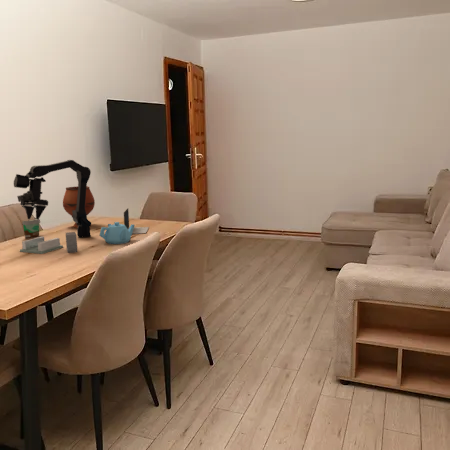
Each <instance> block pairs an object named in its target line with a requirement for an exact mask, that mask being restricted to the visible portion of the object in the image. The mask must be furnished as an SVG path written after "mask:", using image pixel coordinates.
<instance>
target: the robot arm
mask: <svg viewBox="0 0 450 450" xmlns="http://www.w3.org/2000/svg"><path fill="white" fill-rule="evenodd" d="M68 168H69V169H71V170H72V171H73V172H75V175H76V180H77V181H78V182H77V187H78V194H77V207H76V209H75V211H74V210H72V213H73V215H72V216H71V218H72V220H73V222H74V223H76V224H77V225H79V226H78V228H76V236H77V237H78V238H80V239H81V238H90V237H92V235H91V226H92V222H91V221H90V220H89V219H88V215H87V214H86V210H85V201H86V188H87V186H88V185H87V184H88V182H89V180H90V177H91V172H92V171H91V169H90V168H89V167H87V166H83V165H82V164H80V163H78V162H77V161H75V160H73V159H67V160H64V161H60V162H56V163H51V164H42V165H33V166H31V167H30V169H29V171H28V172H27V173H26V175H23V174H19V173H18V174H17V173H16V174H15V177H14V180H13V187H14V188H18V189H19V188H20V189H27V188H29V190H27V191H26V192H24V193H23V194H20V195H17V196H16V197H17V201H18V202H19V203H20V205H21V207H22V208H23V209H25V213H26V217H27V220H31V218H32V216H33V212H34V210H35V218H36V219H40V218H41V216H42V214H43V212H44V210H45V209H46V208H47V206H49V201H48V199H41V196H42V195H43V191H42V183H45V182H46V180H45V179H44V176H46V175H48V174H50V173H51V172H57V171H60V170H65V169H68Z"/></svg>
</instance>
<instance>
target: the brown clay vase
mask: <svg viewBox="0 0 450 450" xmlns="http://www.w3.org/2000/svg"><path fill="white" fill-rule="evenodd" d="M77 194H78V186H68V187H65V193H64V195H63V198H62V199H63V200H62V207H63V209H64V210H65V212H66V213H67V214H68V215H69V216H71V217H72V215H73V213H72V210H74V211H75V209H76V207H77ZM95 204H96V203H95V198H94V195H93V193H92V190H91V189H90V186H88V185H87V188H86V201H85V210H86V214H87V216H88V215H89V214H90V213H92V211H93V210H94V208H95ZM78 226H79V225H77V224H76V222H74V224H73V228H76V229H77V228H78Z"/></svg>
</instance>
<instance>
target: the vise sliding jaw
mask: <svg viewBox="0 0 450 450" xmlns="http://www.w3.org/2000/svg"><path fill="white" fill-rule="evenodd" d="M43 241H45V236H39V237H35V238H29V239H27V240H23V241H21V245H22V249H25V250H26V249H29V248H33V247H36V246H38V243H40V242H43Z"/></svg>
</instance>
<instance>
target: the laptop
mask: <svg viewBox="0 0 450 450" xmlns="http://www.w3.org/2000/svg"><path fill="white" fill-rule="evenodd" d="M129 213H130V212H129V208H126V209H125V211H124V212H123V225H125V226H126V227H127V229H129V227H130V218H129V217H130V215H129ZM149 228H150V226H149V227H148V226H145V227H143V226H139V227H137V226H136V227H135V226H134V229H133V232H132V235H139V234H140V235H141V234H142V233H145V234H147V233H148V230H149ZM146 232H147V233H146Z"/></svg>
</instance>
